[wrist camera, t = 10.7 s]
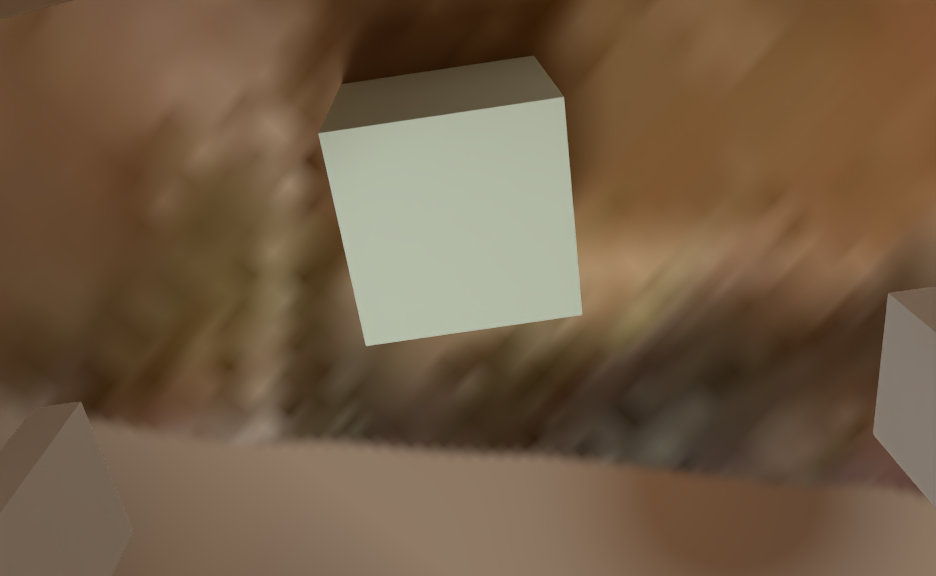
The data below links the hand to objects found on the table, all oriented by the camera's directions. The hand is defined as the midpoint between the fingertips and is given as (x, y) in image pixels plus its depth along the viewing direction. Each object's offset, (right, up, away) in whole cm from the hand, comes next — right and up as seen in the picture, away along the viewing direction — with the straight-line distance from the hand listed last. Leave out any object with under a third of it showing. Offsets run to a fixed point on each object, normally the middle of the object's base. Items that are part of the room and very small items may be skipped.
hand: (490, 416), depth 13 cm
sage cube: (-1, +6, +13) cm, 14 cm away
